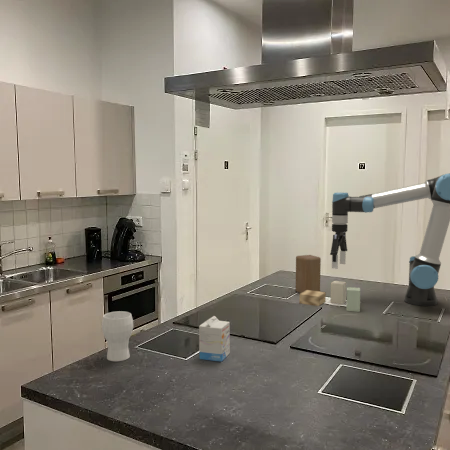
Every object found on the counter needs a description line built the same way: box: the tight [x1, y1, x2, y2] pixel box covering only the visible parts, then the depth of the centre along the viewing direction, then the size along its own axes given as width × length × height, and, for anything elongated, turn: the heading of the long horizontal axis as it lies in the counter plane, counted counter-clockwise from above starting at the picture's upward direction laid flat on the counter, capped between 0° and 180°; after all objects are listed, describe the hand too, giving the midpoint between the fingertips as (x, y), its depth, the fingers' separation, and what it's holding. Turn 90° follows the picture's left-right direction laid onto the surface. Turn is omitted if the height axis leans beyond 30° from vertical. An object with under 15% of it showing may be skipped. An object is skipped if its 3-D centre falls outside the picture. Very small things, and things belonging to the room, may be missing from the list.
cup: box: [101, 310, 134, 362], centre depth 160 cm, size 11×11×15 cm
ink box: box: [198, 315, 231, 362], centre depth 161 cm, size 9×8×13 cm
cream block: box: [330, 280, 347, 305], centre depth 232 cm, size 6×6×10 cm
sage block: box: [345, 286, 361, 313], centre depth 218 cm, size 6×6×10 cm
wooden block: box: [295, 254, 322, 294], centre depth 251 cm, size 10×10×20 cm
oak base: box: [298, 290, 327, 307], centre depth 232 cm, size 10×10×5 cm
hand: (338, 266), depth 231 cm, fingers open, 13 cm apart
